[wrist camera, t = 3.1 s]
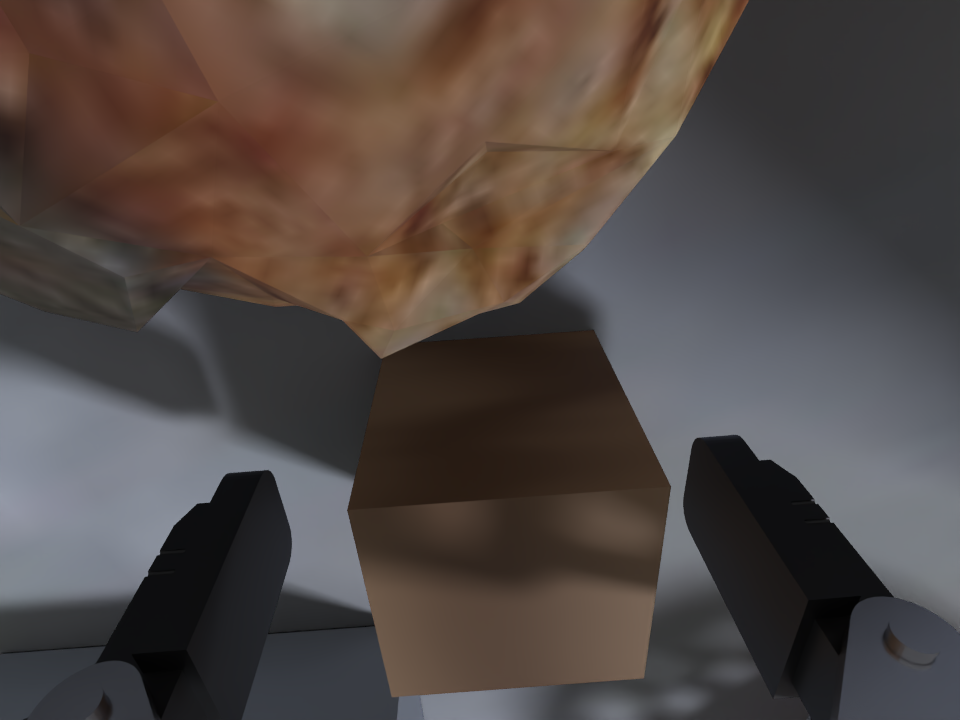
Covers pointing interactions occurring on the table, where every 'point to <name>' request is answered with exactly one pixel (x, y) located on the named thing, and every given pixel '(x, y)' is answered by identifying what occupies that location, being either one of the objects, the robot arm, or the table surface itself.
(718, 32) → the bread
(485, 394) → the walnut cube
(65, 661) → the pedestal
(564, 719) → the table surface
